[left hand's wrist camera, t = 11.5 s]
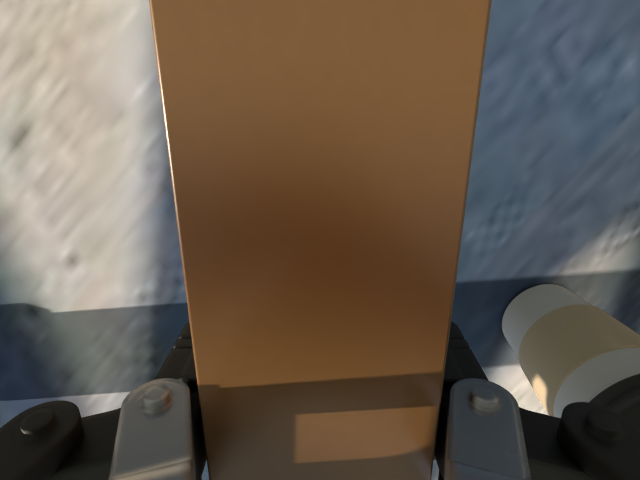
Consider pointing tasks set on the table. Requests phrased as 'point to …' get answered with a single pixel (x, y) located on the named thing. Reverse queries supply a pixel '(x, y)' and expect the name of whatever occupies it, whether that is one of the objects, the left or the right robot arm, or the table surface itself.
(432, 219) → the bar
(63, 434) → the left robot arm
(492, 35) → the table surface
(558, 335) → the coffee cup
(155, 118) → the table surface
